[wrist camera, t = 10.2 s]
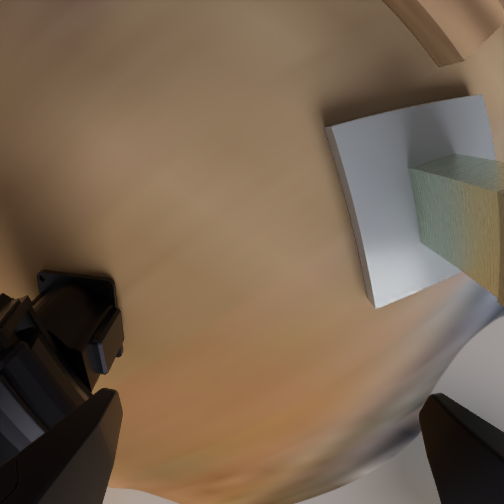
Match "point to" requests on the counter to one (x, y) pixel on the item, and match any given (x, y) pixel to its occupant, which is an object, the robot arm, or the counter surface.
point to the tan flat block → (449, 25)
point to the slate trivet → (401, 186)
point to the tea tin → (463, 215)
